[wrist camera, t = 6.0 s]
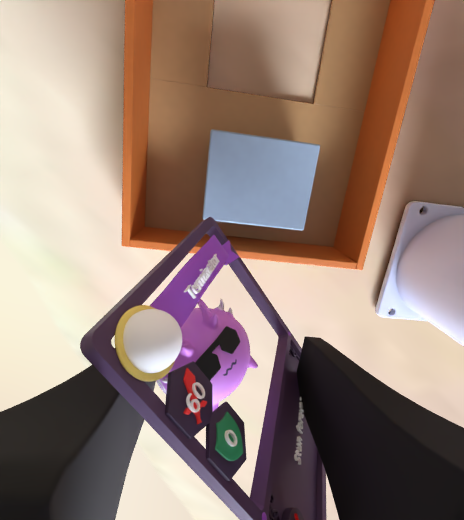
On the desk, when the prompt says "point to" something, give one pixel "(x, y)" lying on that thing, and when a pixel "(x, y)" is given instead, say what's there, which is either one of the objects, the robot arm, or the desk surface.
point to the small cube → (259, 180)
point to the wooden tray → (265, 127)
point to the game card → (211, 382)
